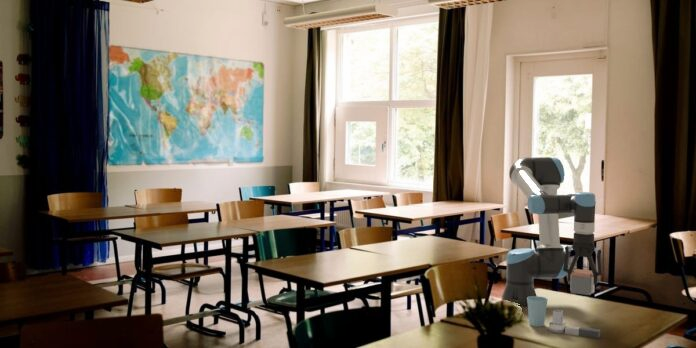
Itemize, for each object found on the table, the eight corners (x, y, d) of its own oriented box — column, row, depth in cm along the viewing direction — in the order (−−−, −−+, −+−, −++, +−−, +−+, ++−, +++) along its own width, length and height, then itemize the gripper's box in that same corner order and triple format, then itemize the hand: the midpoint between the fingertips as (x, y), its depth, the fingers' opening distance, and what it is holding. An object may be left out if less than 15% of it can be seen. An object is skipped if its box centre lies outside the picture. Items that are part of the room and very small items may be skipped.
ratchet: (600, 335, 251) (601, 314, 251) (597, 339, 246) (598, 318, 245) (551, 328, 260) (551, 307, 260) (547, 332, 255) (547, 311, 255)
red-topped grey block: (570, 292, 262) (571, 272, 261) (574, 288, 268) (575, 268, 267) (589, 295, 258) (590, 274, 257) (593, 291, 264) (594, 270, 263)
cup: (525, 321, 270) (526, 295, 269) (545, 322, 268) (546, 296, 267) (527, 327, 262) (527, 300, 261) (547, 328, 261) (548, 301, 260)
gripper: (555, 231, 263) (553, 289, 265) (609, 236, 253) (607, 296, 254) (559, 229, 269) (558, 285, 271) (613, 233, 259) (611, 292, 261)
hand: (582, 291), depth 263 cm, fingers closed on red-topped grey block, 7 cm apart
